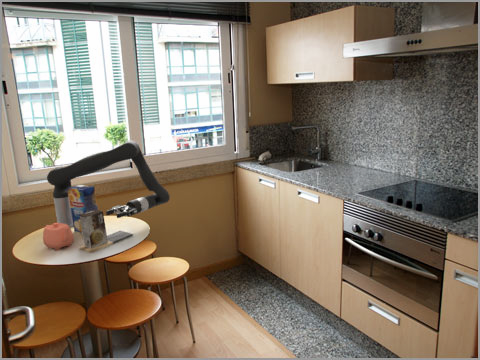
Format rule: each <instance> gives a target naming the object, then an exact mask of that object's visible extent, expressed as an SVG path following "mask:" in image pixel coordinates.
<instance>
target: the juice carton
mask: <svg viewBox="0 0 480 360" xmlns="http://www.w3.org/2000/svg"><path fill="white" fill-rule="evenodd" d="M67 190H68V196H69V202H70V208H71V214H72V220H73V226H72V227H73V231H74V232H76V233H81V234H82V228H81V222H80V216H79V214H82V213H86V212H89V211H92V210H95V209H97V210H99V209H98V202H97V201H98V200H97V196H96V195H97V194H96V189H95V186H91V185H82V184H78V185H77V184H76V185H74V186H71V188H67Z"/></svg>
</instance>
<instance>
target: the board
mask: <svg viewBox="0 0 480 360" xmlns="http://www.w3.org/2000/svg"><path fill="white" fill-rule="evenodd" d="M133 236H134V235H133V233H132V232H128V231H123V230H118V231H115V232H113V233H110V234H108V235H107V240H108V242H107V243H104V244H102V245H99V246H97V247H94V248H92V249H91V248H88V247H86V246H84V244H82V245H80V246H78V249H79V250H82V251H85V252H87V253H89V254H92V253H96V252H98V251H100V250H102V249H104V248H107V247H110V246H113V245H114V244H117V243H119V242H121V241H123V240H126V239H128V238H130V237H133Z"/></svg>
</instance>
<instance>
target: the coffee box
mask: <svg viewBox="0 0 480 360" xmlns="http://www.w3.org/2000/svg"><path fill="white" fill-rule="evenodd" d="M79 216H80V222H81V228H82V233H81V234H82V238H83V245H84V246H86V247H88V248H91V249H92V248H94V247H97V246H99V245H102V244H104V243H107V242H108V240H107V236H108V235H107V229H106V222H105V221H106V220H105V216H104V211H102V210H100V209H98V210H97V209H95V210H92V211H89V212H86V213H82V214H79Z"/></svg>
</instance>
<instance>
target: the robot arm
mask: <svg viewBox="0 0 480 360" xmlns="http://www.w3.org/2000/svg"><path fill="white" fill-rule="evenodd" d="M127 160H131V161H132V162H133V164H134V166H135V167H136V168H137V171H138V175H139V177H140V179H141V181H142V182H143V184H144V186H145V187H146V189H147V190H148V191H149V192H154V193H153V194H151V195H149V194H148V195H146V196H143V197H138V198H135V199H131V200H129V201H127V203H125V205H122V204H119V205H118V204H117V205H115V206H113V207H110V209H108V210H106V211H105V214H106V216H110V215H114V214H116V218H117V219H119V218H123V217H131V216H134V215H137V214H140V213H144V212H145V211H147V210H150V209H152V208H154V207H157V206H160V205H164V204H166V203H168V202H169V201H170V200H171V199H170V193H169V191H168V190H167V189H166V188H165V187H164V186H163V185H162V184H160V182H159V181H158V179H157V178H156V175H155V174H154V172H153V171H152V170H151V168H150V166H149V164H148V163H147V161H146V159H145V156H144V155H143V152H142V150H141V147H140V145H139V143H138V142H137V141H135V140H133V139H132V140H131V139H130V140H127V141H125V142H124V143H122V144H121V145H119V146H117V147H115V148H112V149H110V150H106V151H101V152H97V153H93V154H91V155H88V156H86V157H83V158H81V159H79V160H77V161H75V162H74V163H72V164H70V165H67V166H57V167H55V168H53V169H50V171H49V172H48V174H47V176H46V181H47V182H48V183H49V184H50V185H51V186H54V188H53V192H52V196H53V198H52V199H53V203H54V208H55V215H56V223H63V224H67V225H68V226H69V227H70V228H71V227H74V226H73V220H72V214H71V208H70V202H69V196H68V190H67V188H71V187H72V180H73V179H76V178H80V177H85V176H87V175H90V174H93V173H96V172H99V171H101V170H104V169H106V168H108V167H111V166H112V165H114V164H117V163H119V162H124V161H127Z"/></svg>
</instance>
